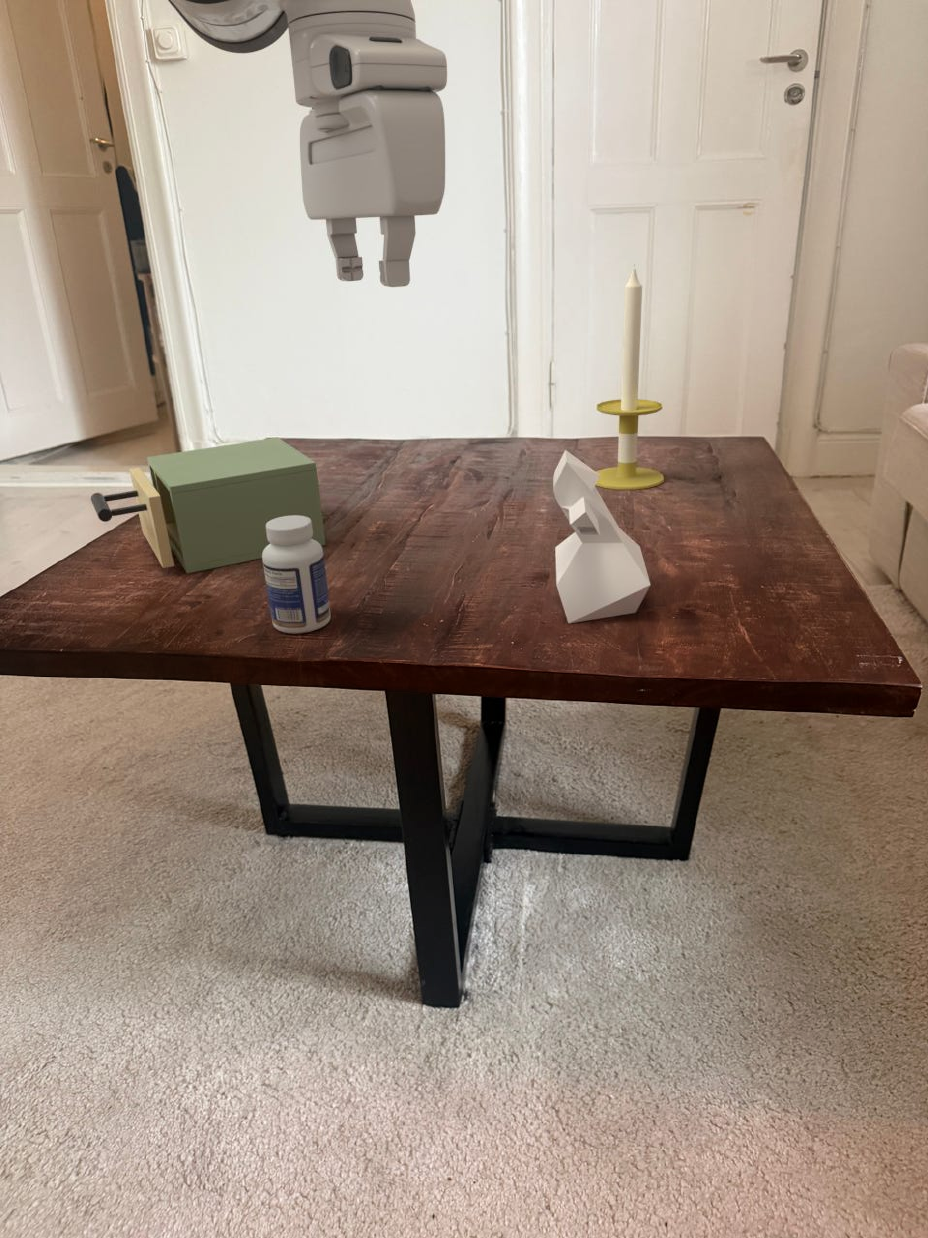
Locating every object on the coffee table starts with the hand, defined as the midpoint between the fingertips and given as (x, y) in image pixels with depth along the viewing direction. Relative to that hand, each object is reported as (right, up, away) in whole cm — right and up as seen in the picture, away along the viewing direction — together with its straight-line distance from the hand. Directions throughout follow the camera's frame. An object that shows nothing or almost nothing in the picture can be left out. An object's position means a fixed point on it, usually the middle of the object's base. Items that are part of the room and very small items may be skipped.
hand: (371, 283), depth 67 cm
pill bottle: (-8, -27, +13) cm, 30 cm away
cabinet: (-19, -17, +34) cm, 42 cm away
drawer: (-23, -17, +32) cm, 43 cm away
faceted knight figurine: (+20, -24, +15) cm, 35 cm away
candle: (+29, -7, +50) cm, 58 cm away
